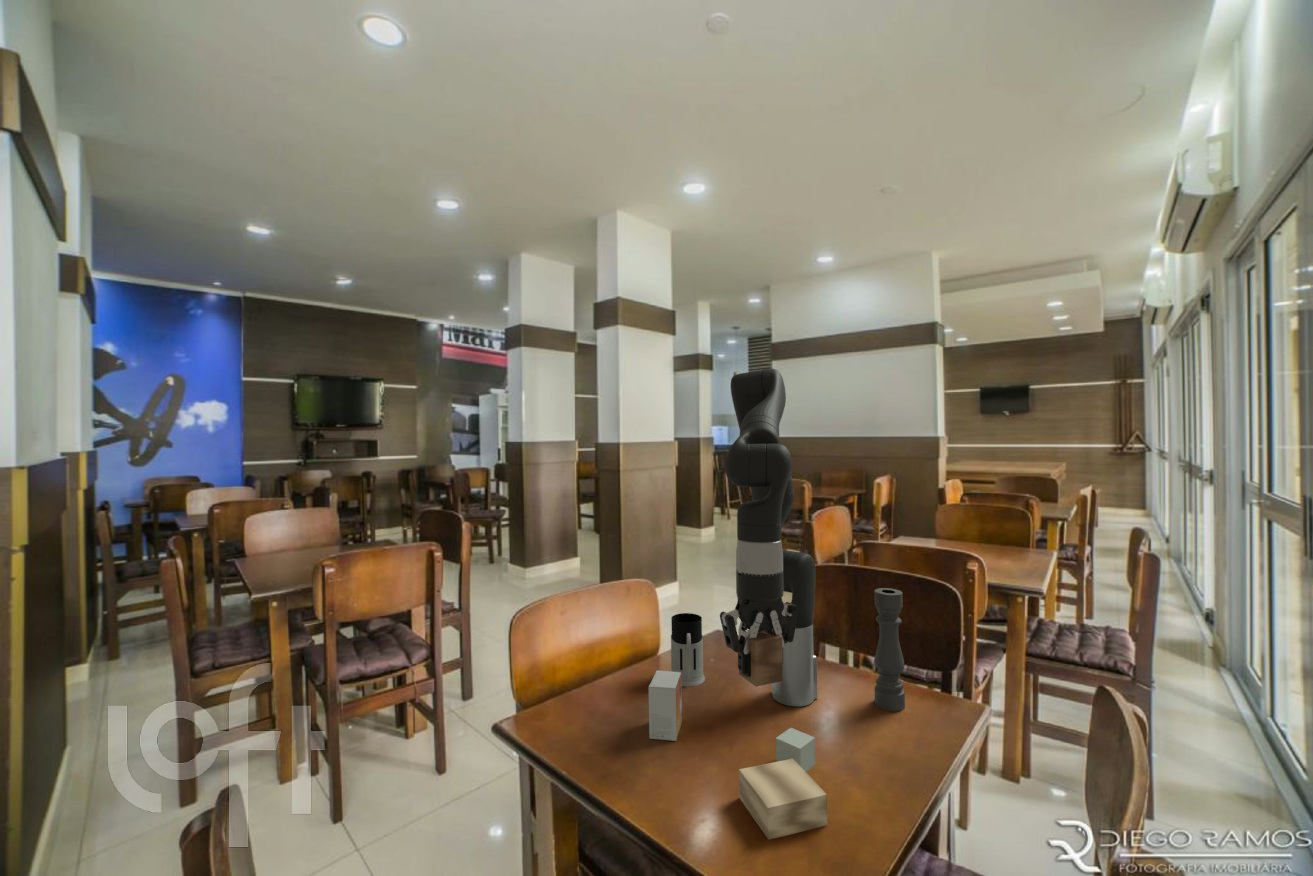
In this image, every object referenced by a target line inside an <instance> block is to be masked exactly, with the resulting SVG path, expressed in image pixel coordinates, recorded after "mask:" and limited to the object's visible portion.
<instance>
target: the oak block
mask: <svg viewBox="0 0 1313 876" xmlns="http://www.w3.org/2000/svg"><path fill="white" fill-rule="evenodd" d="M738 777H739V778H738V781H739V782H738V784H739V787H738V788H739V789H738V791H739V797H738V798H739V799H740V801H741V803H742V805H744V806H745V808H746V809H747V811H748V813H749V814H750V815H751V817H752V818H753V820H754V821H755V822H756V824H757V825H758V827H759V828H760V830H761V831H762V833H763V834H764V835H765V837H766V838H767V839H768V841H770V840H772V839H773V840H774V839H777V838H781V837H787V836H789V835H793V834H798V833H801V832H805V831H806V832H807V831H810V830H815V829H818V828H823V827H826V826H828V794H827V793H826V792H825V791H824V789H823V788H821V787H820V786H819V785H818V783H816V781H815V780H814V779H813V778H812V777H811V776H810V775H809V774H808V772H805V771H804V770H803V769H802V768H801V767H800V766H799V765H798V763H797V762H796V761H795V760H794V759H788V760H783V761H778V762H776V761H774V762H770V763H764V764H758V765H753V766H750V767H749V766H747V767H745V768H739V769H738Z"/></svg>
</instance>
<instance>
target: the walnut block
mask: <svg viewBox="0 0 1313 876" xmlns="http://www.w3.org/2000/svg"><path fill="white" fill-rule="evenodd" d="M747 631H748V632H749V629H747ZM744 641H745V637H744ZM750 654H751V676H750V677H745V676H744V675H743V674H741V672H740V671H739V670H738V675H740V676H741V677H742V678H744V679H745V680H746V681H748V682H749V683H750V684H752V686H754V687H755V688H756V687H760V686H766V685H772V683H776V682H781V681H783V669H782V637H781V636H779V635H778V636H776V635H774V634H772V633H770V632H768V631H767V630H763V631H761V632H758V633H757V636H756V639H755V640H751V650H750Z"/></svg>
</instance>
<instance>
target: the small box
mask: <svg viewBox="0 0 1313 876" xmlns="http://www.w3.org/2000/svg"><path fill="white" fill-rule="evenodd" d="M682 688H683V686H682V673H681V672H671V670H670V671H668V670H656V671H655V672H654V676H653V678H652V680H651V682H650V683H649V685H648V730H649V731H648V734H649V735H648V736H649V737H648V738H649V739H650V740H651V739H652V740H660V741H661V740H662V741H673V742H677V740H678V736H679V733H680V730H681V726H682V723H683V702H682V701H683V700H682V699H683V698H682V697H683V694H682V692H683V689H682Z"/></svg>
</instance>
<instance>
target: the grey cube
mask: <svg viewBox="0 0 1313 876" xmlns="http://www.w3.org/2000/svg"><path fill="white" fill-rule="evenodd" d="M775 757H776V758H775V760H776V761H775V762H778V761H783V760H788V759H794V760H795V761H796V762H797V763H798V765H799V766H800V767H801V768H802V769H803V770H804V771H805V772H806V773H808V772H809V771H810V770H811V769H813V767H815V766H816V737H814V736H813V735H809V734H808V733H805V732H802V731H800V730H797V729H796V728H793V727H789V728H788V729H786V730H785V731H784V732H783V733H781V734H780V735H778V736H776V738H775Z"/></svg>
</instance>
